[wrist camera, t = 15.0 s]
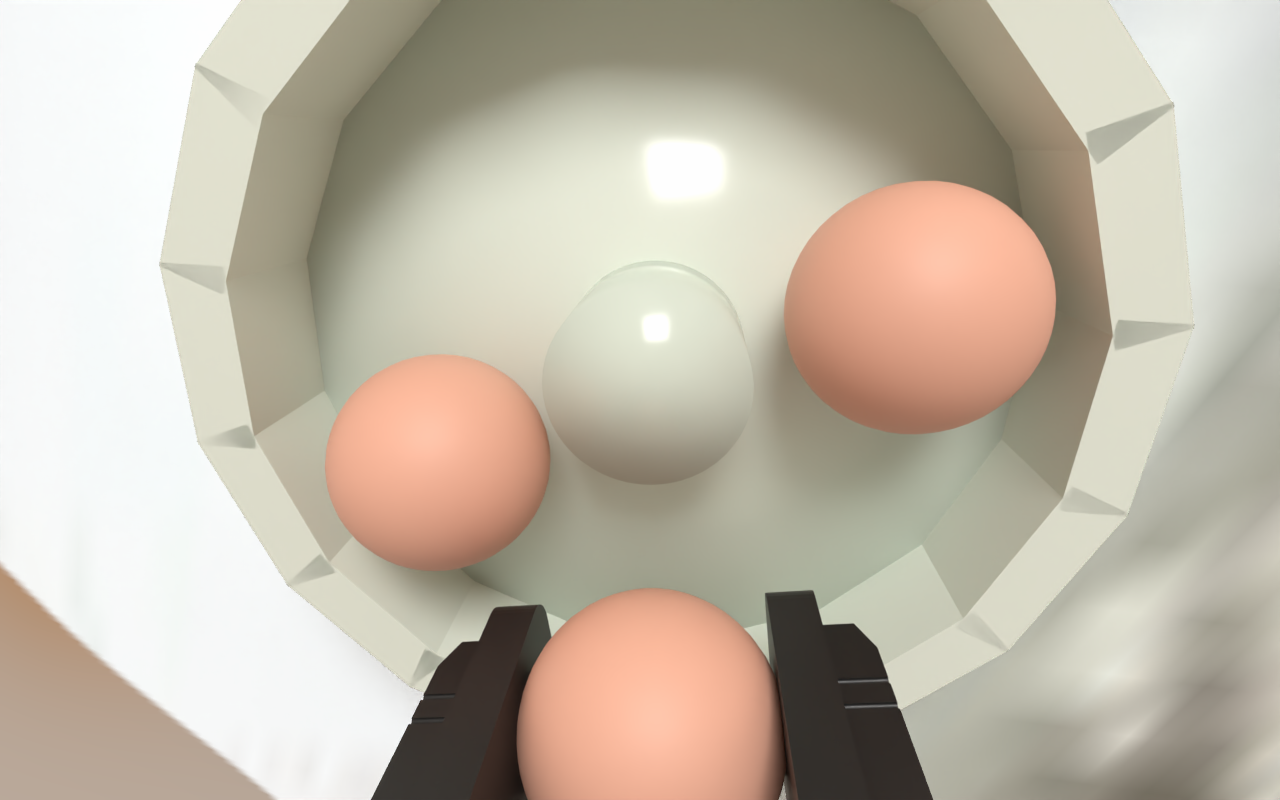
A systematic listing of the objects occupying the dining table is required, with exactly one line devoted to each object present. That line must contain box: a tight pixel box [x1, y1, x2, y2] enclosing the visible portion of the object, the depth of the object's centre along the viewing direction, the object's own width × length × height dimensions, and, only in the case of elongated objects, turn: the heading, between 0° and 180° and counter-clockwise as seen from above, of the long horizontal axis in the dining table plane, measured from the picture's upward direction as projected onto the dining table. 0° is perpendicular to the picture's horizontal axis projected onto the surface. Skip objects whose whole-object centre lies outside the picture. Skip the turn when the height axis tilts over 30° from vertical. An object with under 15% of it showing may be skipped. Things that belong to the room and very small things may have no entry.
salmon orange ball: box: [784, 181, 1056, 434], centre depth 10 cm, size 4×4×4 cm
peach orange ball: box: [517, 588, 786, 800], centre depth 9 cm, size 4×4×4 cm
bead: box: [325, 354, 551, 571], centre depth 11 cm, size 4×4×4 cm
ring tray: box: [159, 0, 1195, 710], centre depth 11 cm, size 15×15×3 cm
